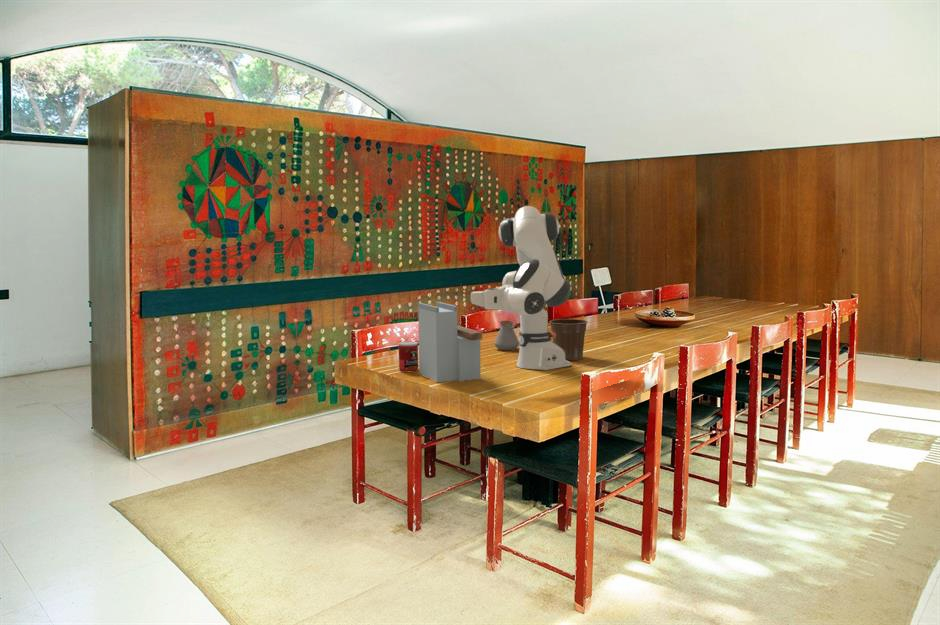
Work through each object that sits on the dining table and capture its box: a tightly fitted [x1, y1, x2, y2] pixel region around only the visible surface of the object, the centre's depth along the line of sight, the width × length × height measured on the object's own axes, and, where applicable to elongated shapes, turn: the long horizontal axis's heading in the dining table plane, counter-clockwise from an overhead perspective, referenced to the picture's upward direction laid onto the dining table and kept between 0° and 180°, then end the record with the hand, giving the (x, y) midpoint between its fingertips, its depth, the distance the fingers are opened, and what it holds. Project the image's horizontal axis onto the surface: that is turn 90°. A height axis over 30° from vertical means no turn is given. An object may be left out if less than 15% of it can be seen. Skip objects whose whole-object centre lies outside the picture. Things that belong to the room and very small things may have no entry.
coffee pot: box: [493, 320, 520, 351], centre depth 324 cm, size 21×12×15 cm, turn 26°
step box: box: [417, 301, 482, 383], centre depth 271 cm, size 17×19×28 cm
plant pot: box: [548, 318, 589, 361], centre depth 307 cm, size 16×16×16 cm
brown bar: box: [457, 324, 483, 341], centre depth 269 cm, size 4×22×2 cm, turn 26°
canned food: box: [398, 341, 419, 372], centre depth 284 cm, size 8×8×11 cm
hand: (489, 294), depth 244 cm, fingers open, 8 cm apart
